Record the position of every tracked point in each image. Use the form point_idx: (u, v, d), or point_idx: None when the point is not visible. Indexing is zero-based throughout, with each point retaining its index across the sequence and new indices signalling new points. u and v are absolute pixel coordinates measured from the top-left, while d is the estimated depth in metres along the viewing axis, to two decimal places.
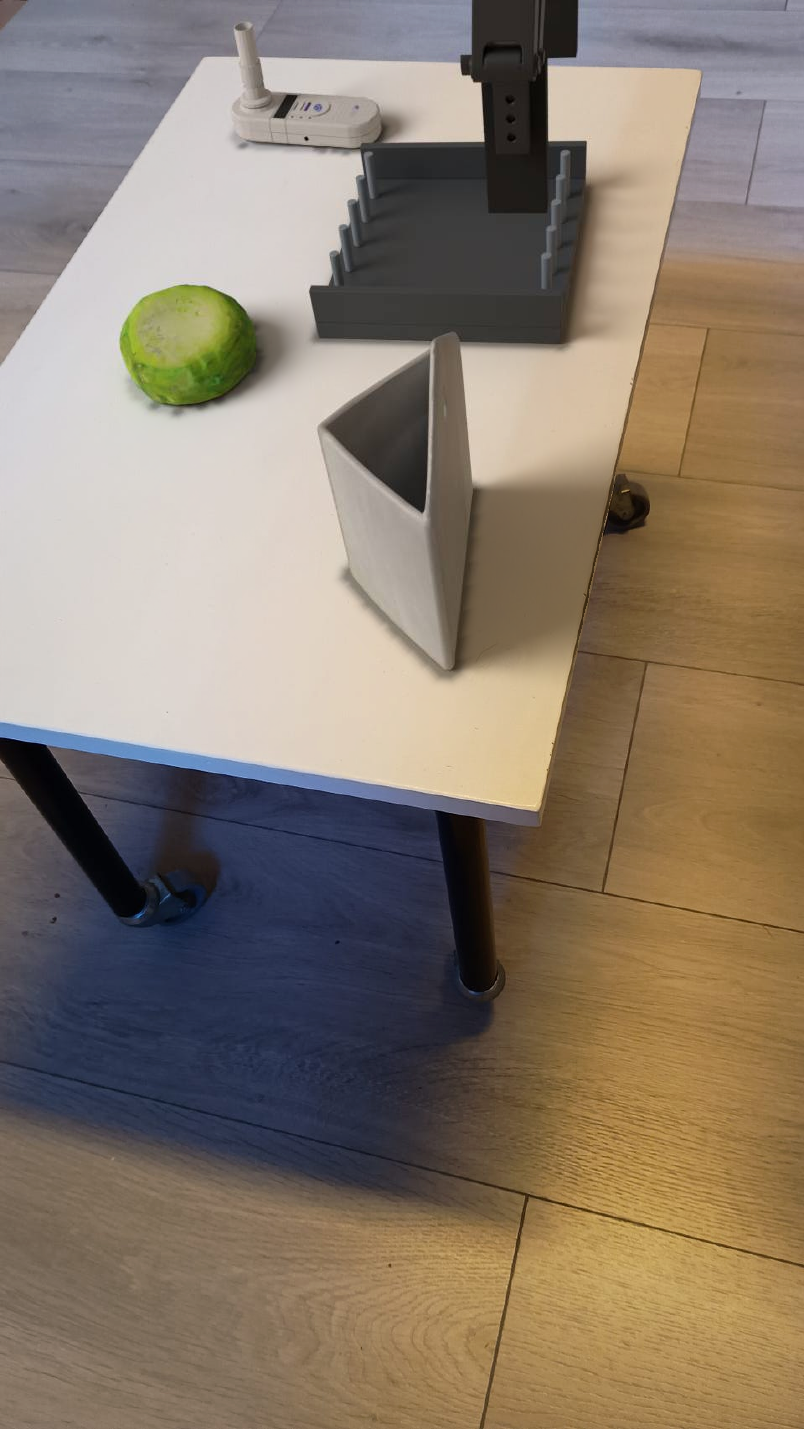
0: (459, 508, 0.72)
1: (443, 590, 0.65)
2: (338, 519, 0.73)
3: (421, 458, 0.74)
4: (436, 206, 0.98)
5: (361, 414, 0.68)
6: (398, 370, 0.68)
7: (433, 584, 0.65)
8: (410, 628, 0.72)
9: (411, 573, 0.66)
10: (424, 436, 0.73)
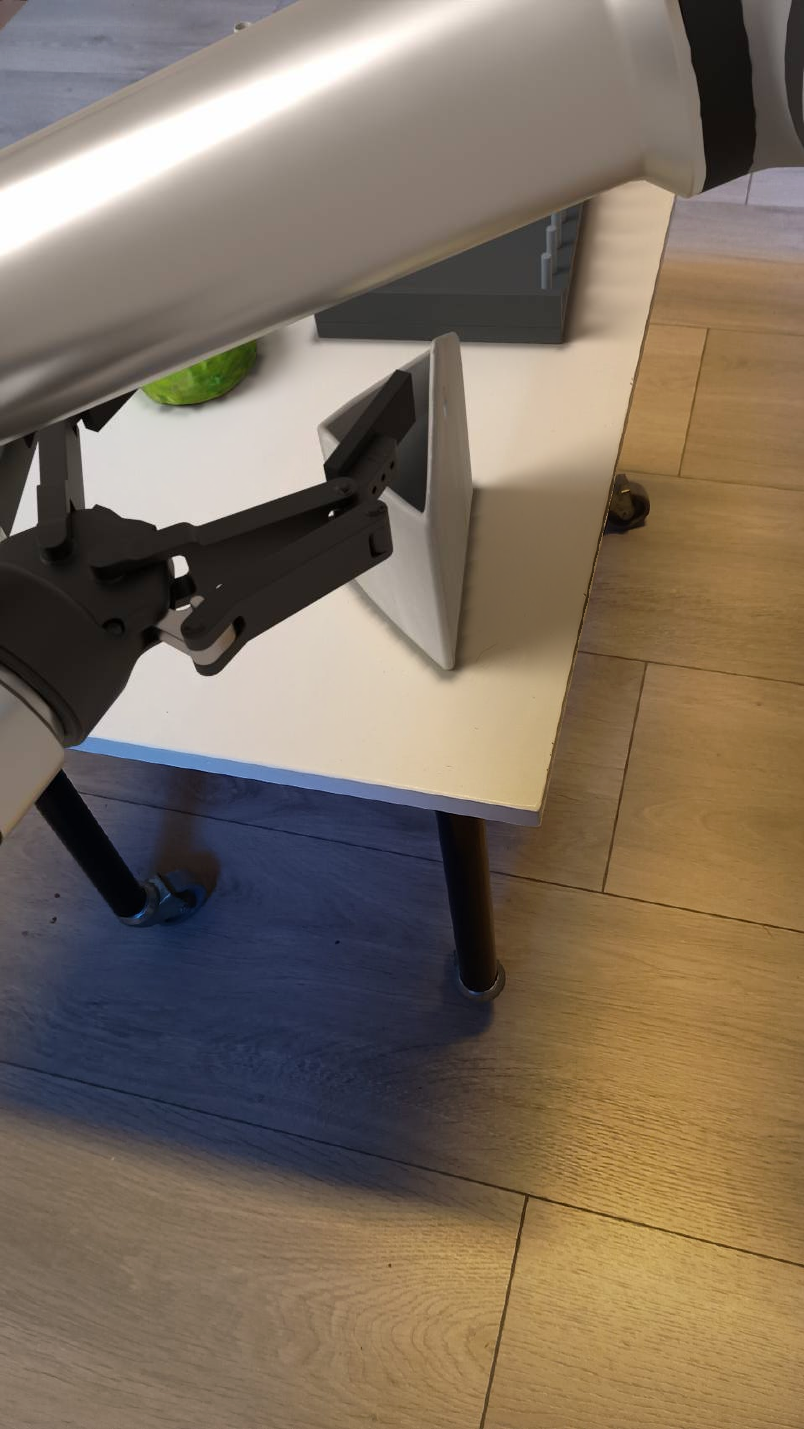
0: (459, 508, 0.72)
1: (443, 590, 0.65)
2: None
3: (421, 458, 0.74)
4: None
5: (361, 414, 0.68)
6: None
7: (433, 584, 0.65)
8: (410, 628, 0.72)
9: (411, 573, 0.66)
10: (424, 436, 0.73)
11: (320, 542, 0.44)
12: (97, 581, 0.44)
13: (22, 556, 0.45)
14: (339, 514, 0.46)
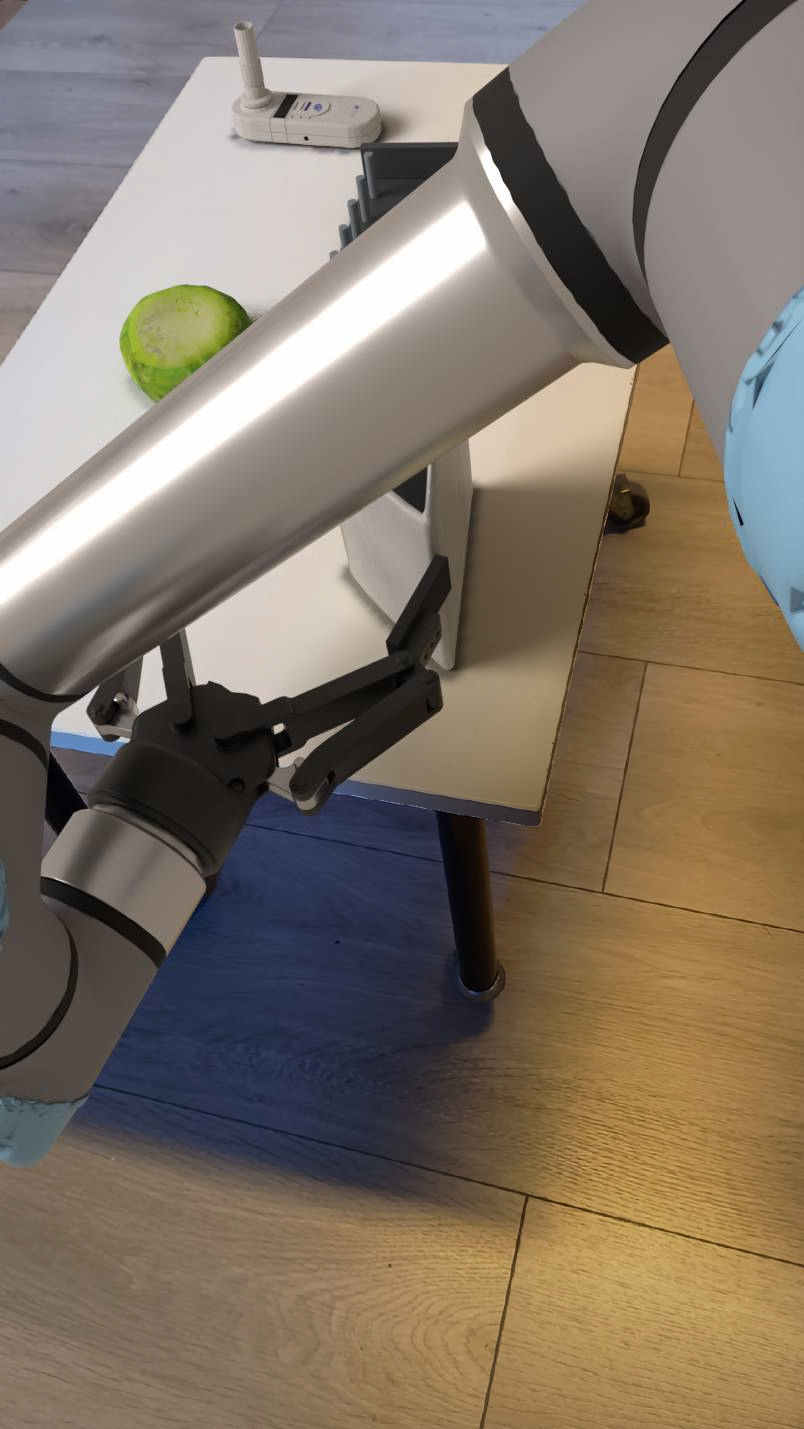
0: (459, 508, 0.72)
1: None
2: None
3: None
4: None
5: None
6: None
7: None
8: None
9: (411, 573, 0.66)
10: None
11: (389, 708, 0.57)
12: (219, 748, 0.57)
13: (157, 728, 0.58)
14: (400, 679, 0.59)
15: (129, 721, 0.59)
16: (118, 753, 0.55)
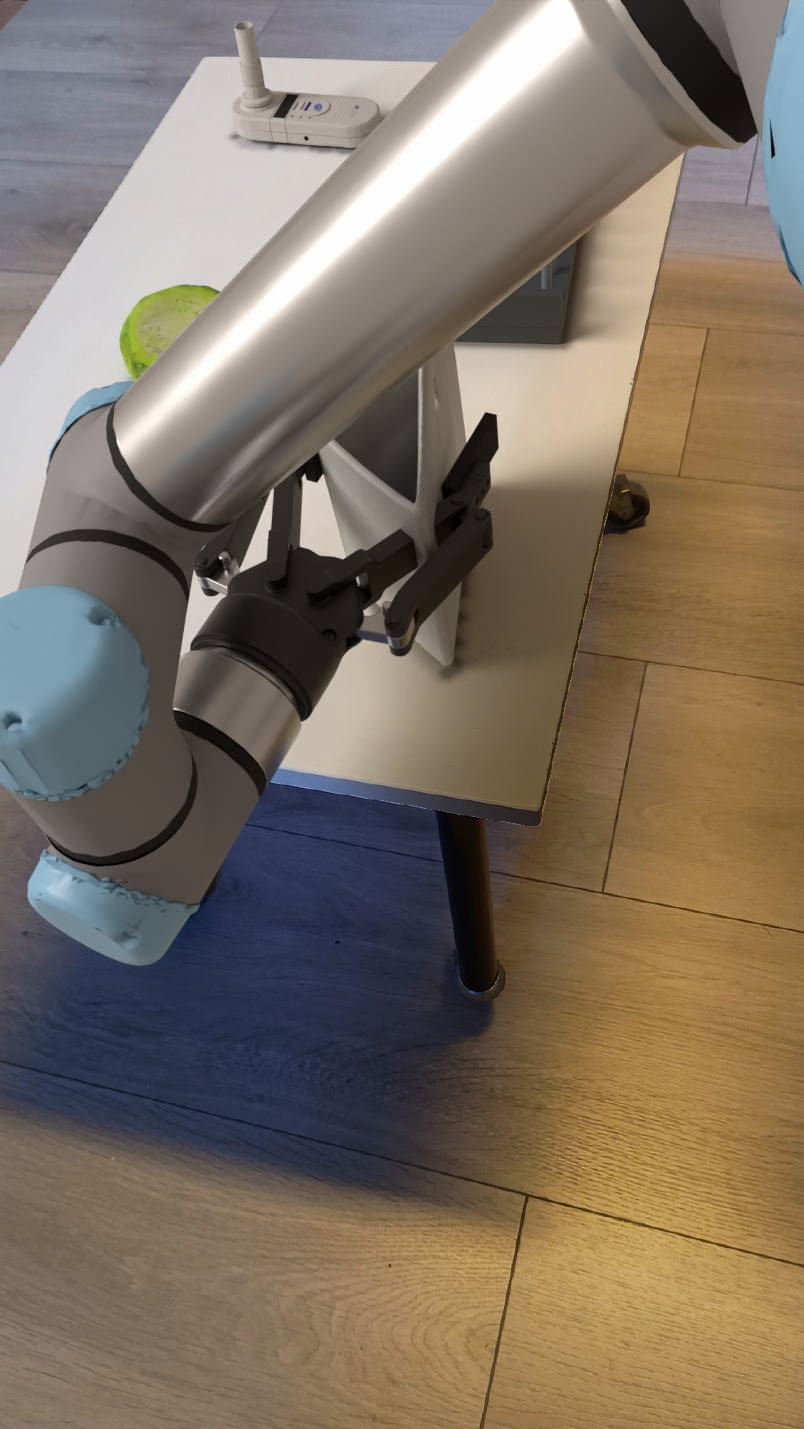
0: None
1: None
2: None
3: (418, 456, 0.75)
4: None
5: None
6: None
7: None
8: None
9: None
10: None
11: (454, 545, 0.62)
12: (314, 603, 0.61)
13: (250, 589, 0.62)
14: (457, 520, 0.64)
15: (228, 579, 0.64)
16: (219, 604, 0.60)
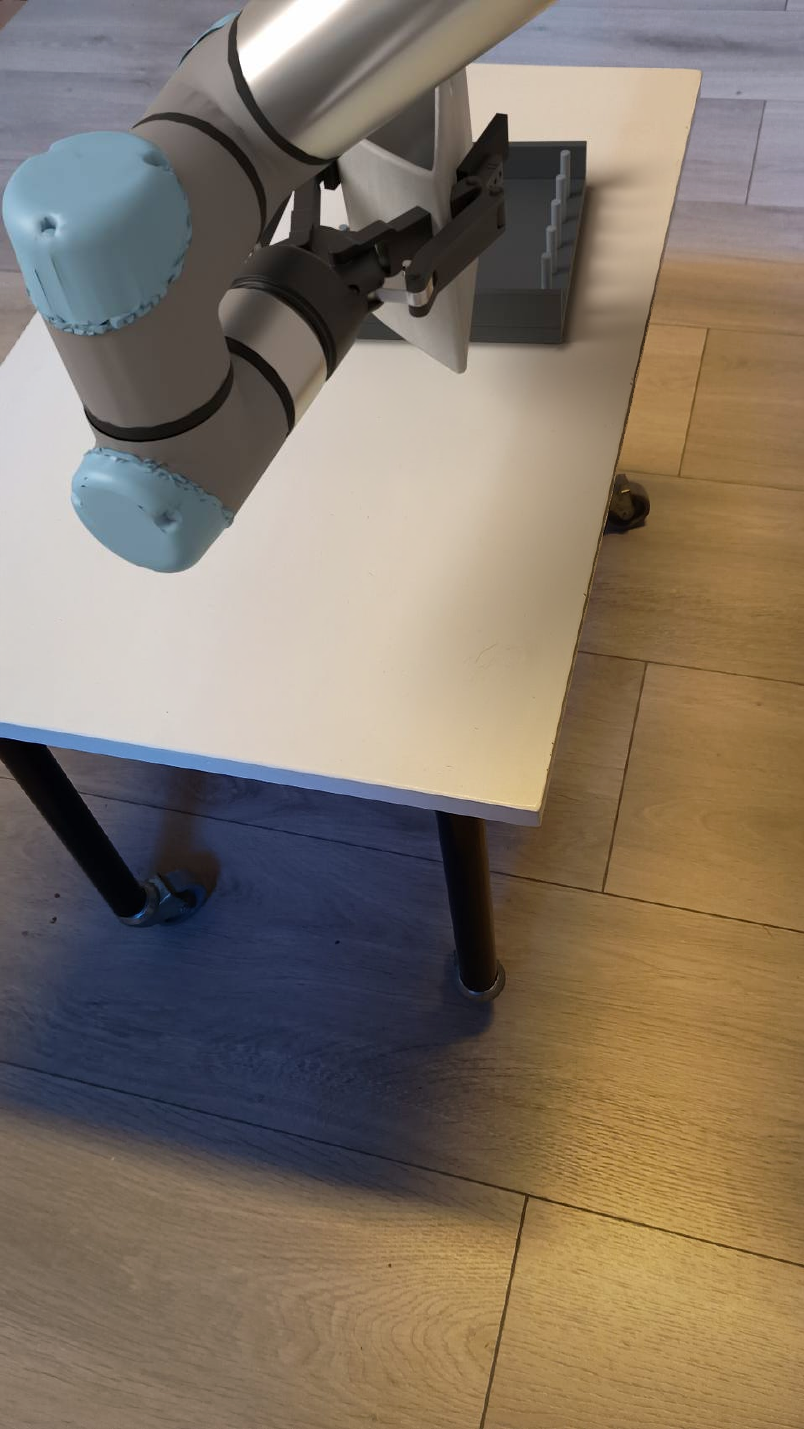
0: None
1: None
2: None
3: None
4: None
5: None
6: None
7: None
8: (423, 335, 0.75)
9: None
10: (432, 157, 0.76)
11: (470, 215, 0.65)
12: (337, 265, 0.64)
13: None
14: (472, 202, 0.67)
15: None
16: (247, 259, 0.62)
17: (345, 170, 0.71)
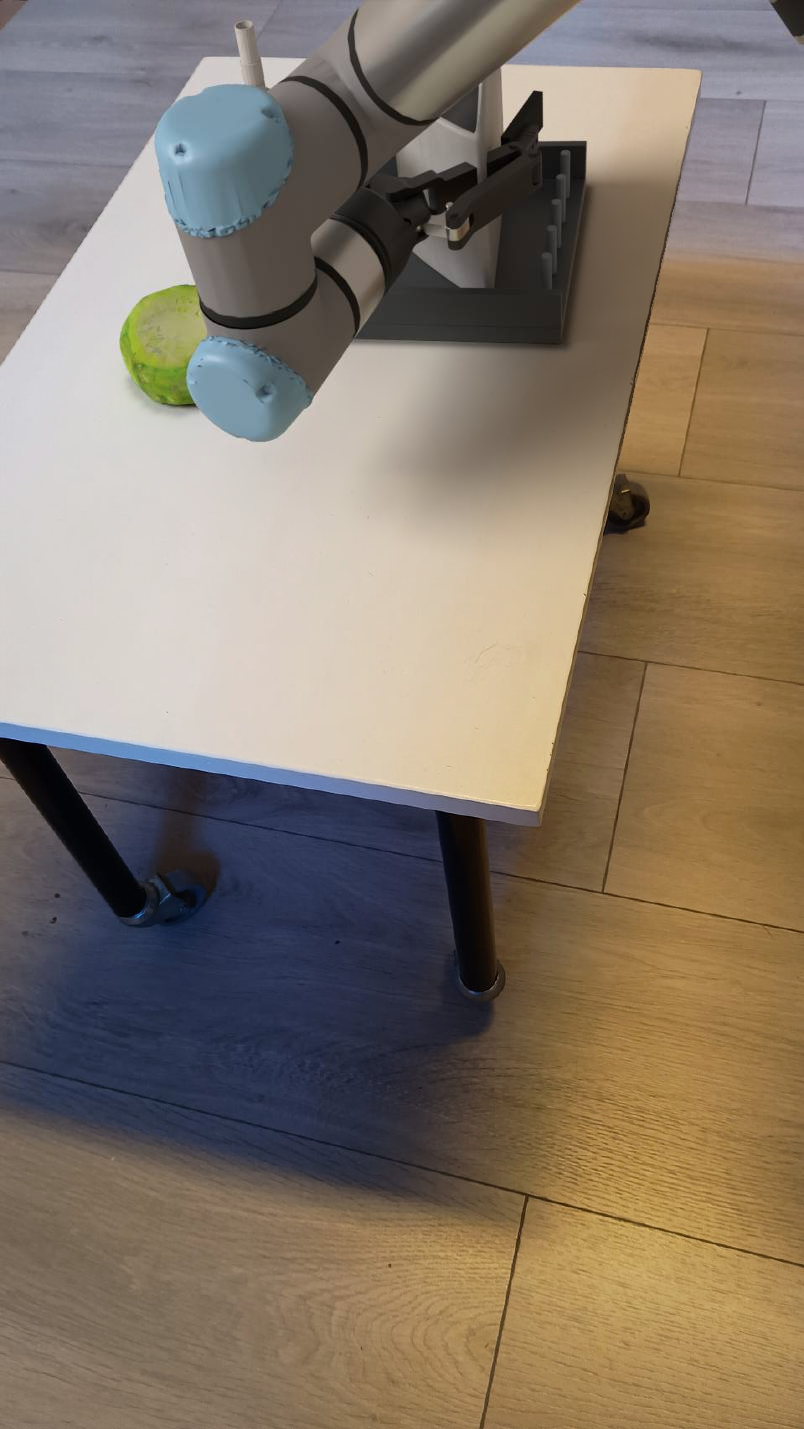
0: None
1: None
2: None
3: None
4: None
5: None
6: None
7: None
8: (458, 271, 0.90)
9: None
10: (469, 121, 0.91)
11: (508, 171, 0.79)
12: (390, 203, 0.79)
13: None
14: None
15: None
16: None
17: None
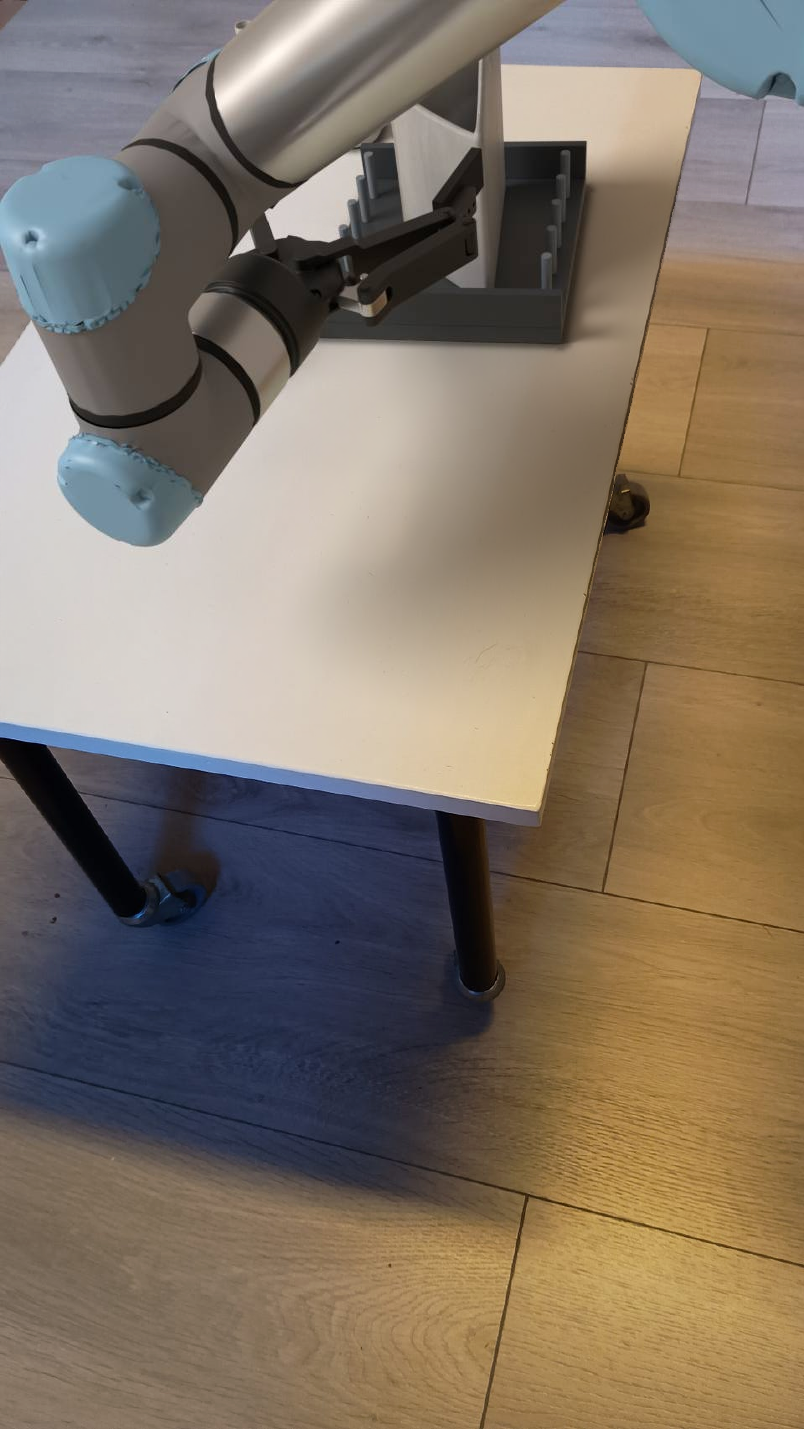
0: (497, 175, 0.90)
1: (487, 213, 0.83)
2: (399, 186, 0.90)
3: None
4: None
5: None
6: None
7: (479, 204, 0.82)
8: (458, 271, 0.90)
9: None
10: (468, 121, 0.91)
11: (436, 241, 0.71)
12: (299, 272, 0.71)
13: None
14: None
15: None
16: None
17: (399, 129, 0.85)
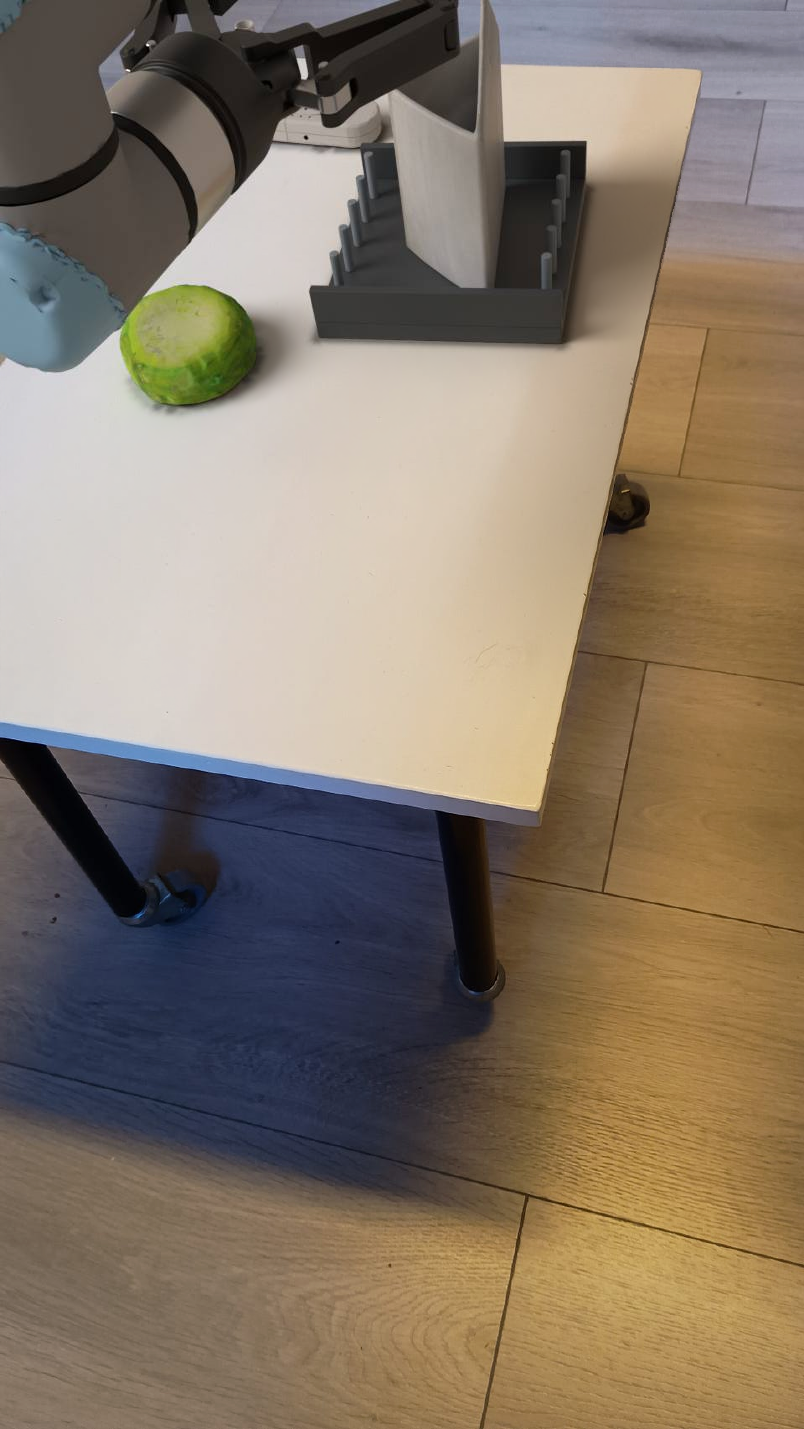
0: (497, 175, 0.90)
1: (487, 213, 0.83)
2: (399, 186, 0.90)
3: None
4: None
5: (421, 83, 0.85)
6: None
7: (479, 204, 0.82)
8: (458, 271, 0.90)
9: (461, 203, 0.84)
10: (468, 121, 0.91)
11: (409, 26, 0.59)
12: (247, 63, 0.59)
13: None
14: None
15: None
16: None
17: (399, 129, 0.85)
